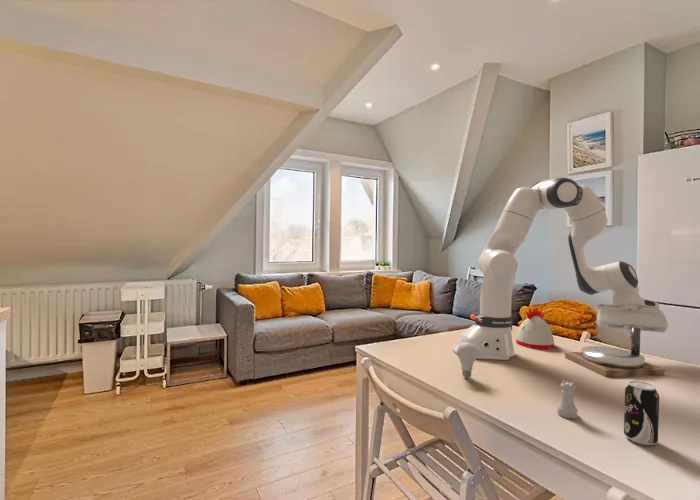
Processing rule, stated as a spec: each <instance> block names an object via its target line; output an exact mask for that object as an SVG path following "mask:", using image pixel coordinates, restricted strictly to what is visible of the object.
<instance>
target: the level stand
mask: <svg viewBox="0 0 700 500" xmlns="http://www.w3.org/2000/svg"><path fill="white" fill-rule="evenodd" d="M564 358H565V359H568V360H569V361H572V362H573V363H575V364H577V365H579V366H581V367H583V368H586V369H588V370H590V371H592V372H594V373H596V374H598V375H600V376H602V377H605V378H610V377H611V378H612V377H613V378H615V377H617V378H619V377H624V378H625V377H662V376H665V373H666V372H665V370H666V369H665V368H662V367H659V366H656V365H655V364H652V363H649V362H646V361H645V365H644V366H643V367H641V368H620V367H612V366H607V365H602V364H598V363H595V362H592V361H589V360H587V359H585V358H583V357H582V356H581V351H565V353H564Z"/></svg>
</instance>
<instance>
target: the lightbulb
mask: <svg viewBox="0 0 700 500" xmlns="http://www.w3.org/2000/svg"><path fill="white" fill-rule="evenodd" d="M456 355H457V357H458V359H459V362H460V364H461V365H460V366H461V370H462V371H461V372H462V376H463V377H464V378H465V379H469V378H470V377H472V370H473V366H474V364H475V361H476V358H477V355H478V351H477V348H476V347H475V346H474V345H473V344H472V343H469V342H464V343H461V344H460V345H459V346H458V348H457V354H456Z"/></svg>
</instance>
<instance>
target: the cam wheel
mask: <svg viewBox="0 0 700 500" xmlns="http://www.w3.org/2000/svg"><path fill="white" fill-rule="evenodd" d="M630 332H631V339H630V350H626V349H622V348H619V347H617V348H616V347H611V346H610V347H609V346H599V345H598V346H597V345H589V346H588V345H587V346H584V347H582V348H580V352H581V356H582V357H583V358H585V359H587V360H589V361H592V362H595V363H598V364H602V365H607V366H612V367H620V368H641V367H643V366H644V365H645V362H646V358H645V355H641V353H640V352H641V333H640V332H642V330H641V328H637V327H632V330H631V331H630Z"/></svg>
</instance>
